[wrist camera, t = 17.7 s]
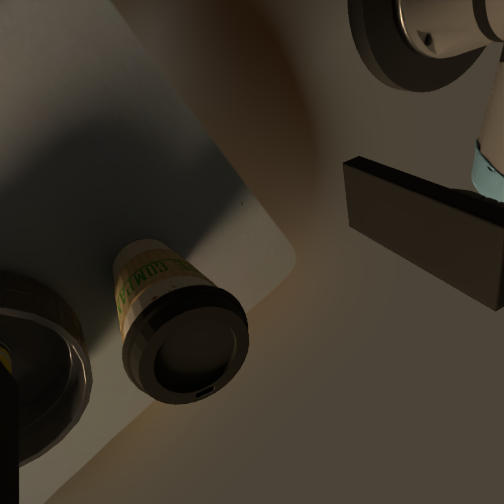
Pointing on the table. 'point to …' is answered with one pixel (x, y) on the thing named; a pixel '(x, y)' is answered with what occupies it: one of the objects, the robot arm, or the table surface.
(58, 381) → the bowl
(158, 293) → the coffee cup
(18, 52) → the table surface
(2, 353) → the supplement bottle
